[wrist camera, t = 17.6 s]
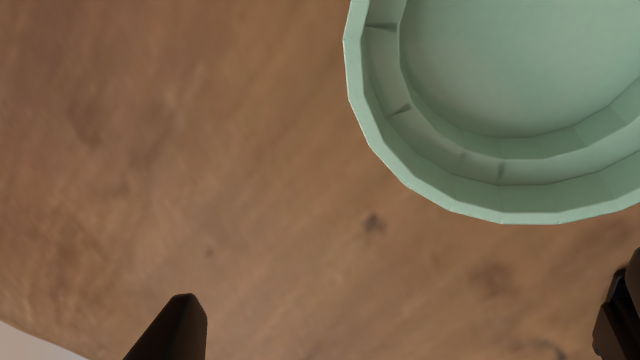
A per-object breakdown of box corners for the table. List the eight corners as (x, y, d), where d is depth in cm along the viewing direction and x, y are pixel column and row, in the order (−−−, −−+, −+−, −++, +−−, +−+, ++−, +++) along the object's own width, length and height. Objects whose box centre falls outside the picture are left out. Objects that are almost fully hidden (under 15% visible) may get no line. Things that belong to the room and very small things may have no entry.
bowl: (800, -237, 13) (960, -286, 9) (667, 162, 20) (727, 226, 16) (342, -161, 15) (322, -175, 12) (367, 167, 22) (359, 223, 19)
